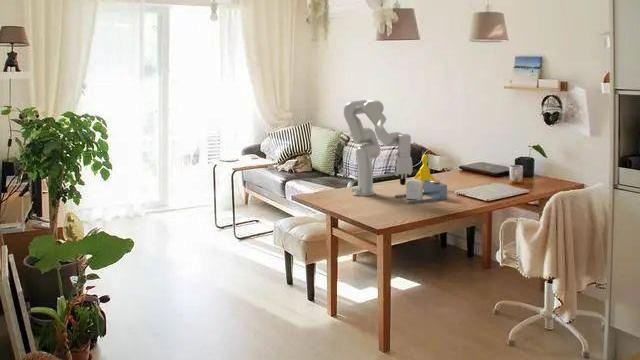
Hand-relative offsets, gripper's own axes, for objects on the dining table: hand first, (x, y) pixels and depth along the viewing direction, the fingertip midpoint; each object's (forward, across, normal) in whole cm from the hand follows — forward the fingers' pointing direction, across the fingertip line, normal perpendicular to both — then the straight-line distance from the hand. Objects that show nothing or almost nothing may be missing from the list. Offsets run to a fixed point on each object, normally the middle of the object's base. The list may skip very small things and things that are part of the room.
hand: (402, 184), depth 352 cm
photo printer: (+10, +8, 0) cm, 13 cm away
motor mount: (+10, +12, -1) cm, 16 cm away
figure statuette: (+11, +31, +26) cm, 42 cm away
